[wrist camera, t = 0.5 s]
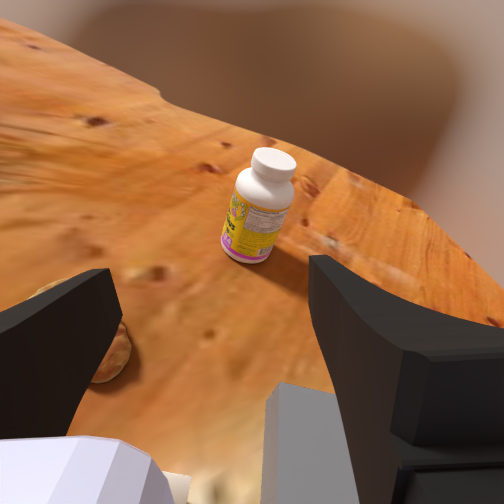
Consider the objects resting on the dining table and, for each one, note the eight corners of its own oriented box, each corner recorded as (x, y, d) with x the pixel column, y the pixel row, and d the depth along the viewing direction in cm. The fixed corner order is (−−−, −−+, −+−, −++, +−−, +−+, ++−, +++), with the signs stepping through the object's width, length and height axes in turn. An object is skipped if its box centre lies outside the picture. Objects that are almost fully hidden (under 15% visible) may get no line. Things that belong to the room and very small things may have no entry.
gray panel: (436, 634, 20) (482, 637, 18) (252, 607, 19) (273, 607, 16) (391, 430, 29) (417, 412, 27) (264, 402, 28) (279, 381, 25)
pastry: (151, 350, 28) (154, 325, 26) (81, 410, 24) (76, 387, 21) (82, 289, 31) (79, 261, 29) (6, 332, 26) (-6, 304, 24)
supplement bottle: (222, 225, 44) (247, 136, 35) (269, 237, 45) (303, 152, 36) (216, 259, 39) (242, 163, 30) (268, 271, 40) (308, 182, 31)
